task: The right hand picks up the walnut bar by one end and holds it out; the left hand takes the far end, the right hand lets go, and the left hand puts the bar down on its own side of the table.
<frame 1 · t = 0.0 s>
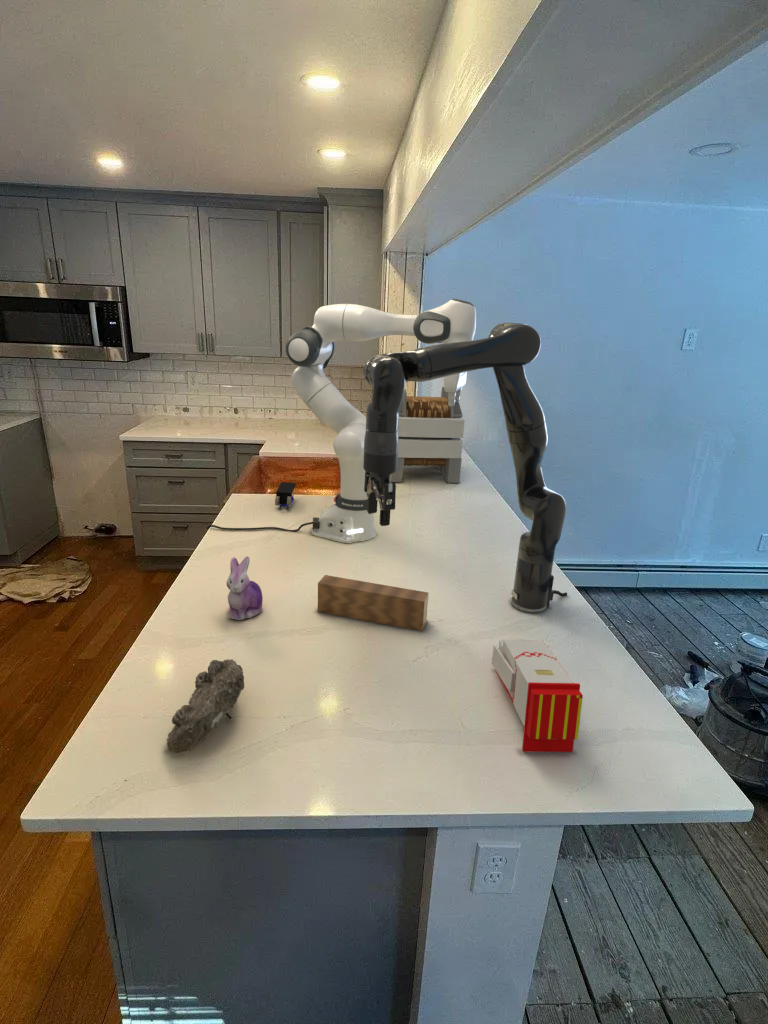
left hand: (454, 403, 174), 48 cm above the counter, tool pointing down, fingers open, 8 cm apart
right hand: (378, 518, 130), 29 cm above the counter, tool pointing down, fingers open, 8 cm apart
toy: (527, 703, 116), on the counter
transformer: (419, 473, 275), on the counter
figurine character: (285, 505, 223), on the counter
figurine: (245, 612, 145), on the counter
bar: (371, 616, 146), on the counter
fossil: (212, 717, 108), on the counter
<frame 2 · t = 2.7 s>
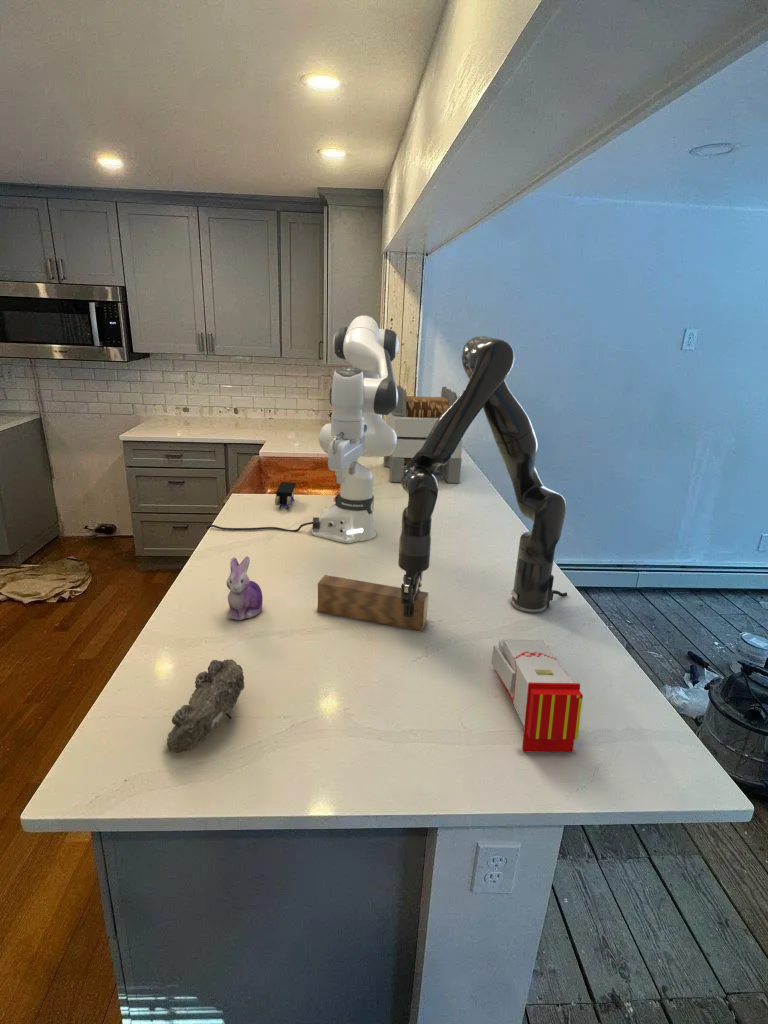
left hand: (346, 478, 158), 30 cm above the counter, tool pointing down, fingers open, 8 cm apart
right hand: (410, 610, 142), 4 cm above the counter, tool pointing down, fingers closed on bar, 5 cm apart
bar: (371, 616, 146), on the counter, touching right hand
everything else where it was.
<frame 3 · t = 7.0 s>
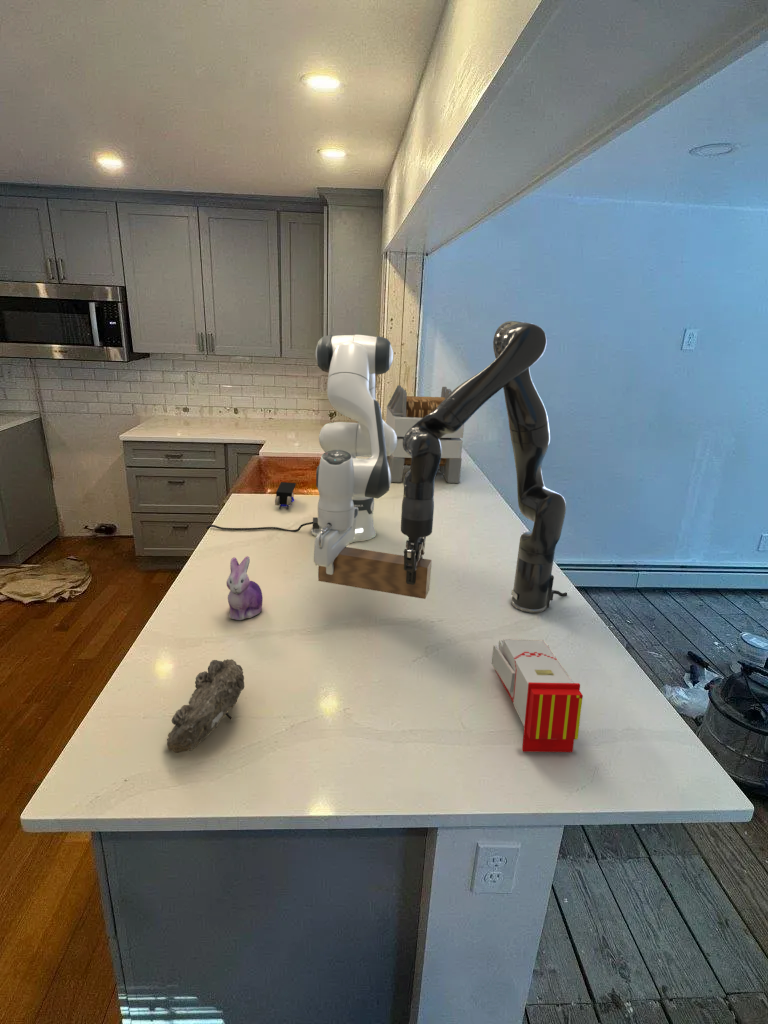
left hand: (335, 568, 144), 12 cm above the counter, tool pointing down, fingers closed on bar, 5 cm apart
right hand: (413, 578, 139), 13 cm above the counter, tool pointing down, fingers closed on bar, 5 cm apart
bar: (373, 585, 143), point 9 cm above the counter, touching left hand, right hand
everything else where it was.
when the right hand's fingers open (13 cm above the counter, at t = 8.2 s): bar stays where it is, held by the left hand.
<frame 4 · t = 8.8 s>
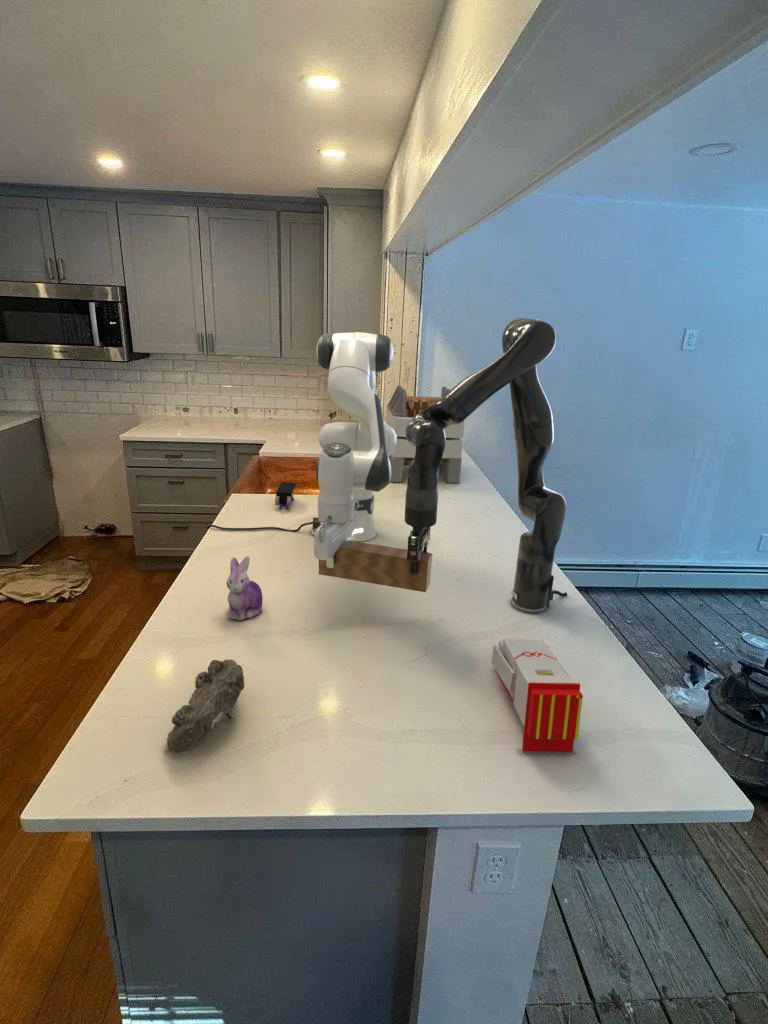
left hand: (335, 561, 144), 14 cm above the counter, tool pointing down, fingers closed on bar, 5 cm apart
right hand: (417, 566, 138), 16 cm above the counter, tool pointing down, fingers open, 8 cm apart
bar: (373, 578, 142), point 11 cm above the counter, touching left hand
everything else where it was.
when the left hand's fingers open (5 cm above the counter, at t = 13.9 s): bar drops 1 cm, on the counter.
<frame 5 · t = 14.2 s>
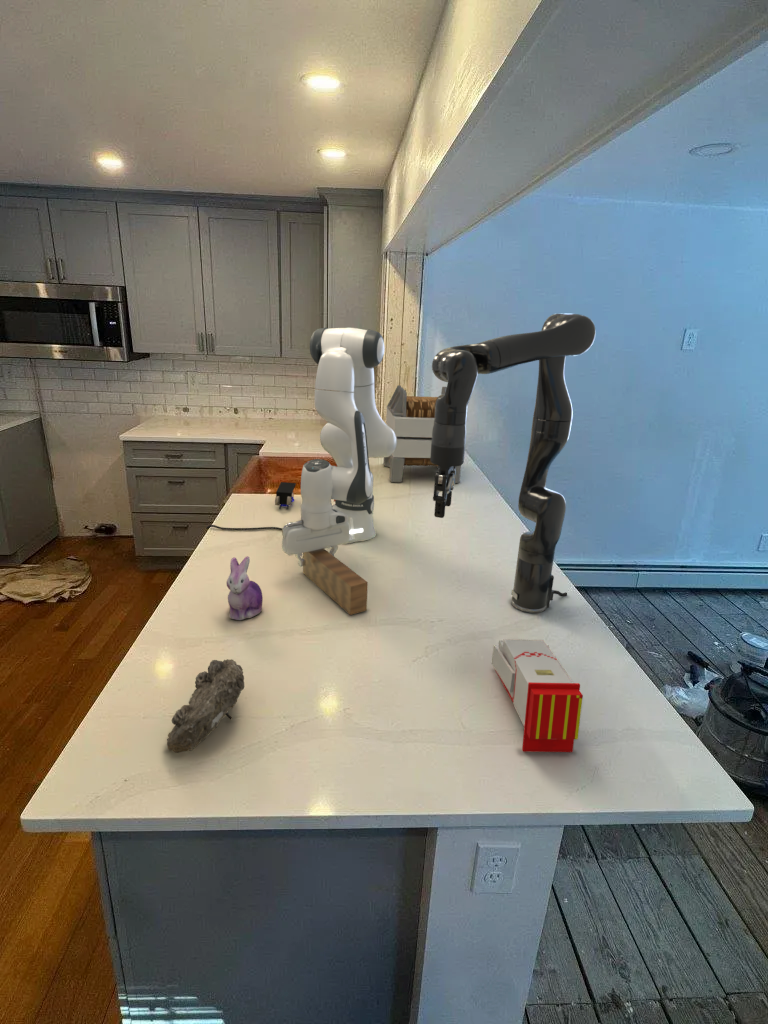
left hand: (316, 562, 164), 5 cm above the counter, tool pointing down, fingers open, 8 cm apart
right hand: (442, 511, 131), 31 cm above the counter, tool pointing down, fingers open, 8 cm apart
bar: (332, 590, 158), on the counter
everything else where it was.
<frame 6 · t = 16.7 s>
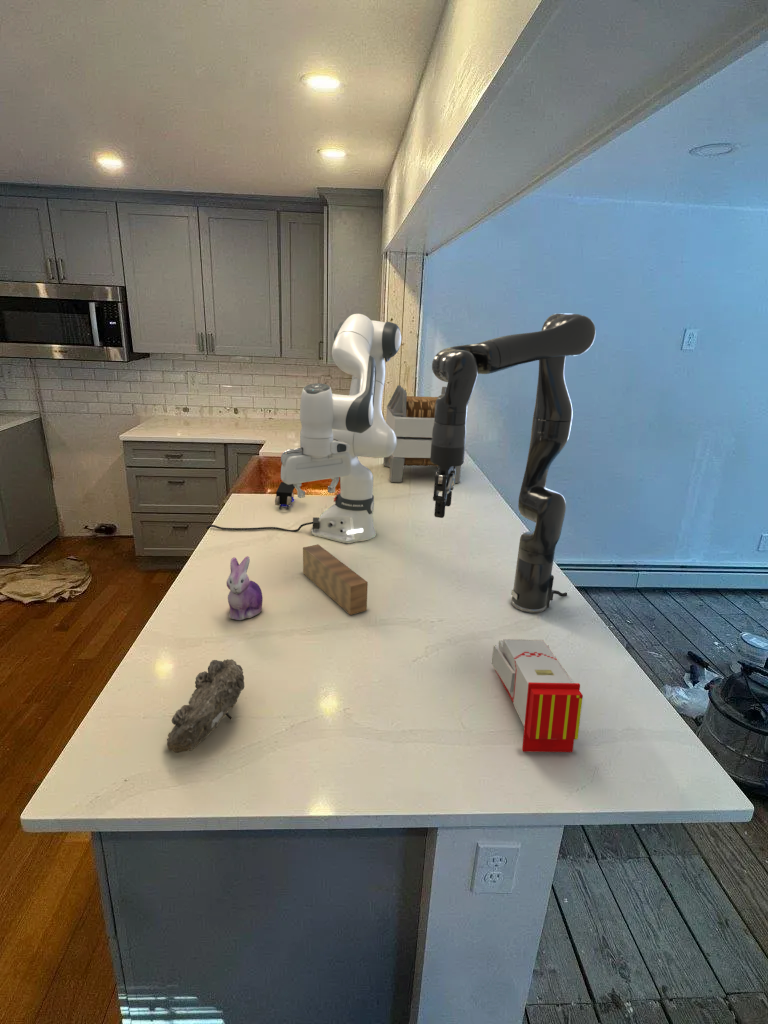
left hand: (316, 494, 157), 25 cm above the counter, tool pointing down, fingers open, 8 cm apart
right hand: (442, 511, 131), 31 cm above the counter, tool pointing down, fingers open, 8 cm apart
nothing on the counter moved.
at the end: bar inside the target area (9.9 cm from its centre), on the counter; the left hand is holding nothing; the right hand is holding nothing; bar at rest at the end (0.0 cm/s) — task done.
